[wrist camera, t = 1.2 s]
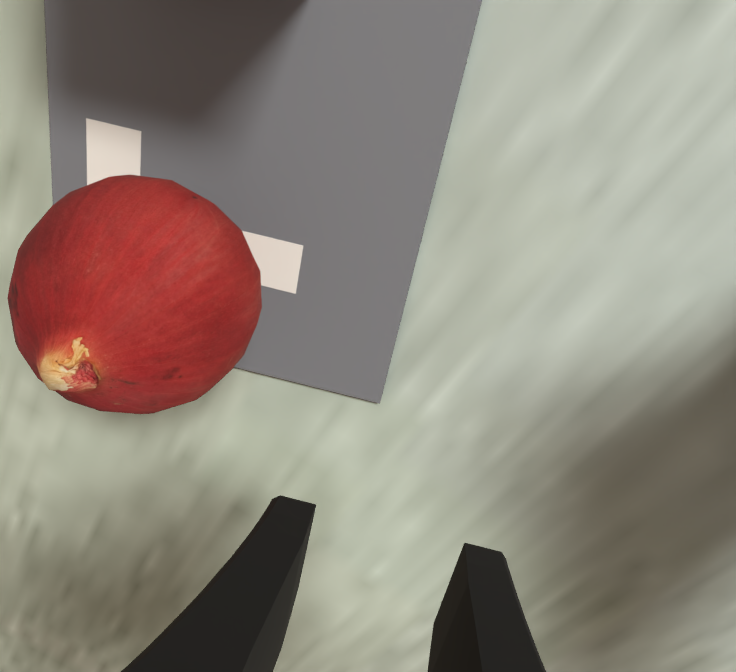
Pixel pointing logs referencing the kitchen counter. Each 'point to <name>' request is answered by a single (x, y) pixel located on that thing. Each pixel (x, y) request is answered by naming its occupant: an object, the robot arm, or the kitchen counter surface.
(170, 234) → the onion
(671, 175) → the kitchen counter surface
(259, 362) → the letter mat
